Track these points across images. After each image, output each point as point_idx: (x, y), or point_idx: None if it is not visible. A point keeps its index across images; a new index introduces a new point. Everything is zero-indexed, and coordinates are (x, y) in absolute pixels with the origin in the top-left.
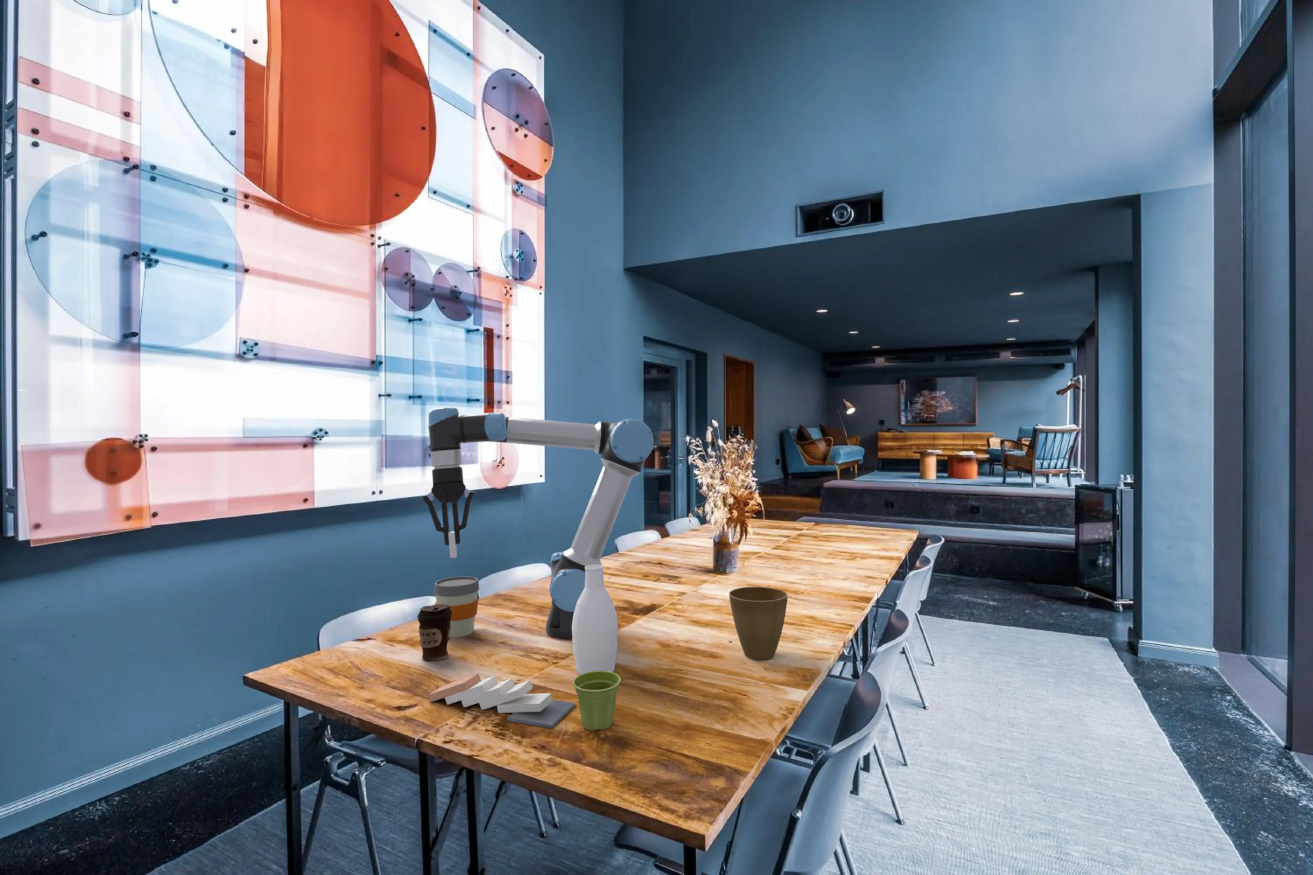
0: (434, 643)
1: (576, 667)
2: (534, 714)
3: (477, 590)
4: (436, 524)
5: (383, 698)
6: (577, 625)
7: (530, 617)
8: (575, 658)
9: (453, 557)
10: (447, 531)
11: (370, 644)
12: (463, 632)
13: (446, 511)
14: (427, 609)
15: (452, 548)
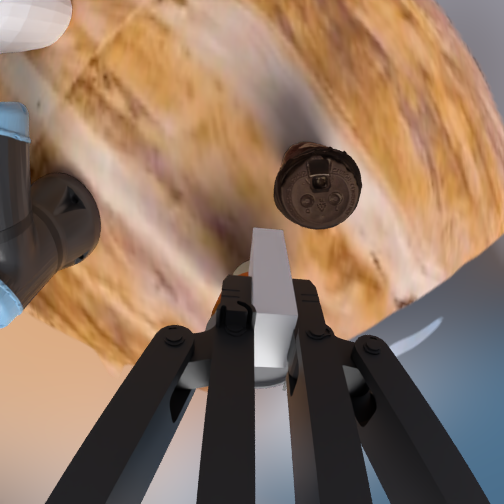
0: (313, 143)
1: (68, 10)
2: None
3: (208, 322)
4: (393, 375)
5: (388, 11)
6: None
7: (132, 309)
8: (61, 2)
9: (266, 229)
10: (304, 327)
11: (405, 278)
12: (249, 263)
13: (323, 478)
14: (340, 190)
15: (270, 253)
